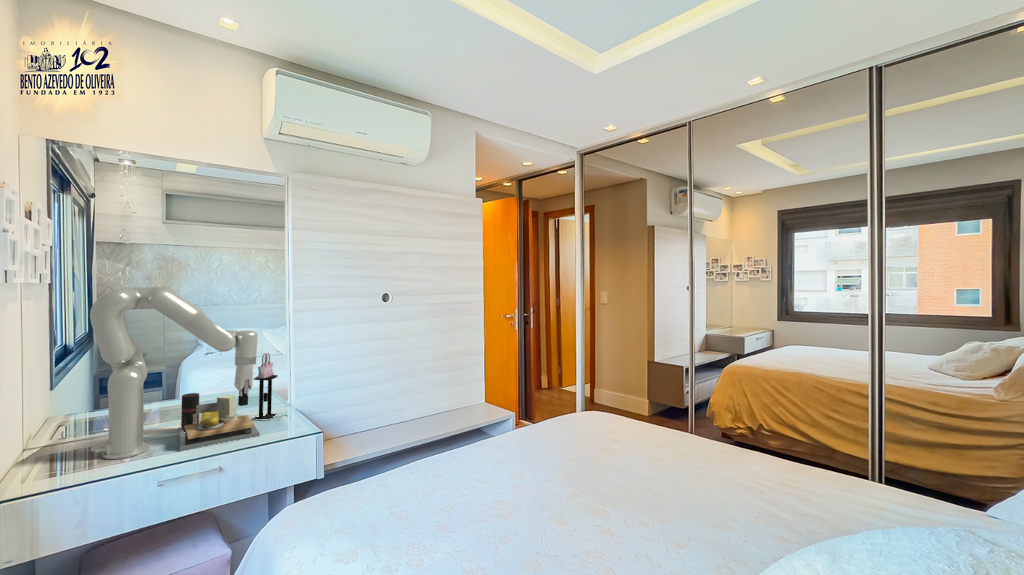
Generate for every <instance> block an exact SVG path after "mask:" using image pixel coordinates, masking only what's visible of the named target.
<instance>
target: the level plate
mask: <svg viewBox="0 0 1024 575" xmlns="http://www.w3.org/2000/svg"><path fill="white" fill-rule="evenodd" d="M219 410H224V402H217V401H216V402H211V403H204V404H203V403H202V404H199V405H196V413H197V414H198V413H199V414H201V420H200V422H199V423H197V424H191V425H185V426H184V429H185V432H186V433H185V434H186V435H187V438H188V439H193V438H198V437H204V436H209V435H214V434H220V433H225V432H231V431H236V430H241V429H247V428H252V427H254V426H255V424H254V422H253V420H251V419H250V417H249V415H248V414H246V415H240V416H237V415H236V416H235V414H233V415H227V416H223V418H221V419H220V420H219Z"/></svg>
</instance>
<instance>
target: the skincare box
mask: <svg viewBox="0 0 1024 575" xmlns="http://www.w3.org/2000/svg"><path fill="white" fill-rule="evenodd" d="M217 402H224V410H219V420H220V419H221V418H223V416H227V415H233V414H235V416H236V417H237V395H233V394H222V395H220V396H217V397H216V403H217Z"/></svg>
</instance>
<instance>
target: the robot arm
mask: <svg viewBox="0 0 1024 575" xmlns="http://www.w3.org/2000/svg"><path fill="white" fill-rule="evenodd" d="M152 309H153V310H156V311H157V312H158V313H160V314H162V315H163V316H165V317H167V318H168V319H169V320H171V321H173V322H174V323H175V324H177V325H179V326H180V327H182V328H183V329H184V330H186V331H187V332H189V333H191V334H192V335H193V336H194V337H196V338H197V339H199V340H201V341H202V342H203V343H205V344H207V345H208V346H209V347H211V348H213V349H214V350H216V351H218V352H222V353H223V352H230V351H232V350H233V349H235V352H234V366H236V367H235V373H234V382H233V383H234V384H233V385H234V387H235V389H236V390H237V391H238V397H237V398H238V399H237V400H238V402H237V405H238V407H243V406H248V405H249V391H250V390H251V389H252V388H253V383H254V382H253V381H254V366H255V365H256V364H257V353H258V352H257V351H258V349H257V348H258V332H257V331H255V330H232V329H224V328H222V327H221V326H219V325H218V324H216V323H215V322H213V320H211V319H210V318H209V317H208V316H207V315H206V313H205V312H203V310H201V309H200V308H199V307H197V306H195V305H194V304H192V303H191V302H189V301H188V300H186V299H185V298H184V297H182V296H181V295H179V294H178V293H177V292H176V291H175V290H174V289H173V288H171V287H168V286H147V287H142V286H140V287H120V288H116V289H112V290H110V291H108V292H106V293H105V294H103V295H101V296H100V297H99V298H97V299H96V301H94V303H93V304H92V306H91V309H90V312H89V318H90V323H91V327H92V330H93V333H94V336H95V340H96V344H97V346H98V349H99V353H100V356H101V359H102V360H103V361H104V362H105V363H107V364H109V365H110V366H111V370H112V373H111V374H110V375H109V377H108V381H107V395H108V396H107V397H108V434H107V435H108V437H107V439H108V440H106V441H107V442H106V443H103V444H100V445H94V446H90V453H93V452H94V453H95V454H98V453H101V452H102V453H101V455H102V456H101V457H102V458H103V459H107V460H118V459H120V460H121V459H125V458H130V457H135V456H137V455H140V454H143V453H144V452H146V451H147V450H148V449H149V444H148V443H147V442H144V418H145V417H144V410H145V408H144V404H145V403H144V402H145V400H144V383H145V381H146V379H147V376H148V368H147V364H146V362H145V359H144V355H143V353H142V350H141V347H140V344H139V342H138V341H137V339H136V338H134V337H132V336H130V335H129V332H128V330H127V326H126V323H125V321H124V314H125V313H126V312H128V311H132V310H133V311H134V310H152Z"/></svg>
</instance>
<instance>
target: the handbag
mask: <svg viewBox="0 0 1024 575" xmlns="http://www.w3.org/2000/svg"><path fill="white" fill-rule="evenodd" d="M273 365H274V362H271V355H270V353H266V352H264V353H263V354H262V358H261V365H260V366H258V367H257V369H258V374H257V376H255V377H254V378H253V381H259V388H258V390H259V392H258V394H259V395H258V396H259V397H258V398H259V400H258V415H259V417H256V416H254V417H255V418H254V417H252V420H253V419H270V418H272V417H273V416H275V415H277V416H278V413H272V400H273V399H272V398H273V397H272V392H273V391H272V390H273V380H275V379H276V378H278V377H279V374H274V371H273ZM265 381H267V392H264V391H265V390H264V385H265V384H264V383H265ZM264 402H265V403H266V402H267V411H266V412H267V414H266V415H265V416H263V413H264ZM272 419H273V418H272ZM272 419H270V420H272ZM270 420H268V421H270ZM268 421H267V422H268Z"/></svg>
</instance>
